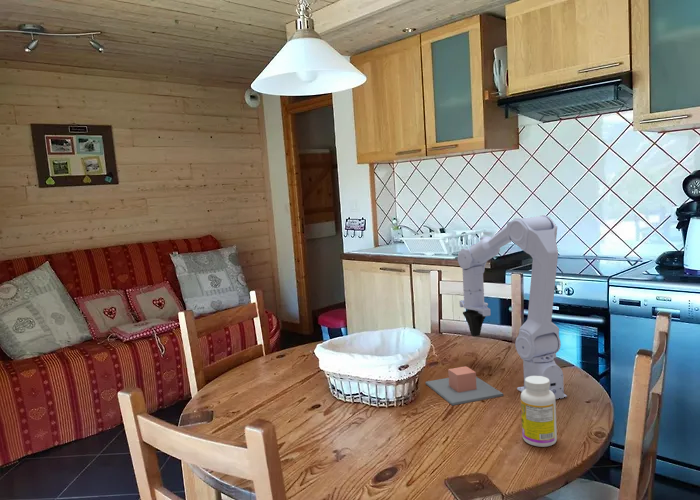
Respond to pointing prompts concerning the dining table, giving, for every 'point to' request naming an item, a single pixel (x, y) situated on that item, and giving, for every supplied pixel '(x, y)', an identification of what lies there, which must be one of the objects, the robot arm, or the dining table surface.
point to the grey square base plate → (463, 397)
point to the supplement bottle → (538, 412)
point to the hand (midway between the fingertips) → (475, 335)
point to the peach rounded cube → (462, 379)
